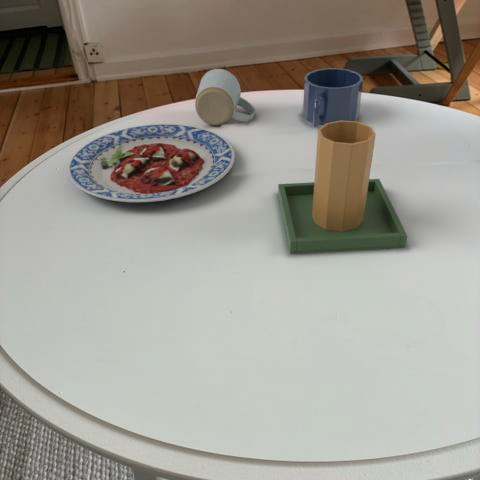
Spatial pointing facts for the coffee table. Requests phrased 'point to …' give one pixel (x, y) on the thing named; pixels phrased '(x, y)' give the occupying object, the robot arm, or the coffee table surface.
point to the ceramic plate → (151, 163)
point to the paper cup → (342, 174)
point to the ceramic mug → (221, 98)
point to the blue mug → (331, 95)
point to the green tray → (320, 240)
